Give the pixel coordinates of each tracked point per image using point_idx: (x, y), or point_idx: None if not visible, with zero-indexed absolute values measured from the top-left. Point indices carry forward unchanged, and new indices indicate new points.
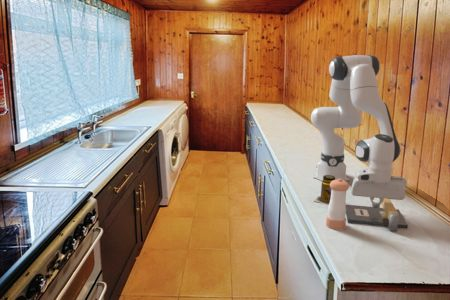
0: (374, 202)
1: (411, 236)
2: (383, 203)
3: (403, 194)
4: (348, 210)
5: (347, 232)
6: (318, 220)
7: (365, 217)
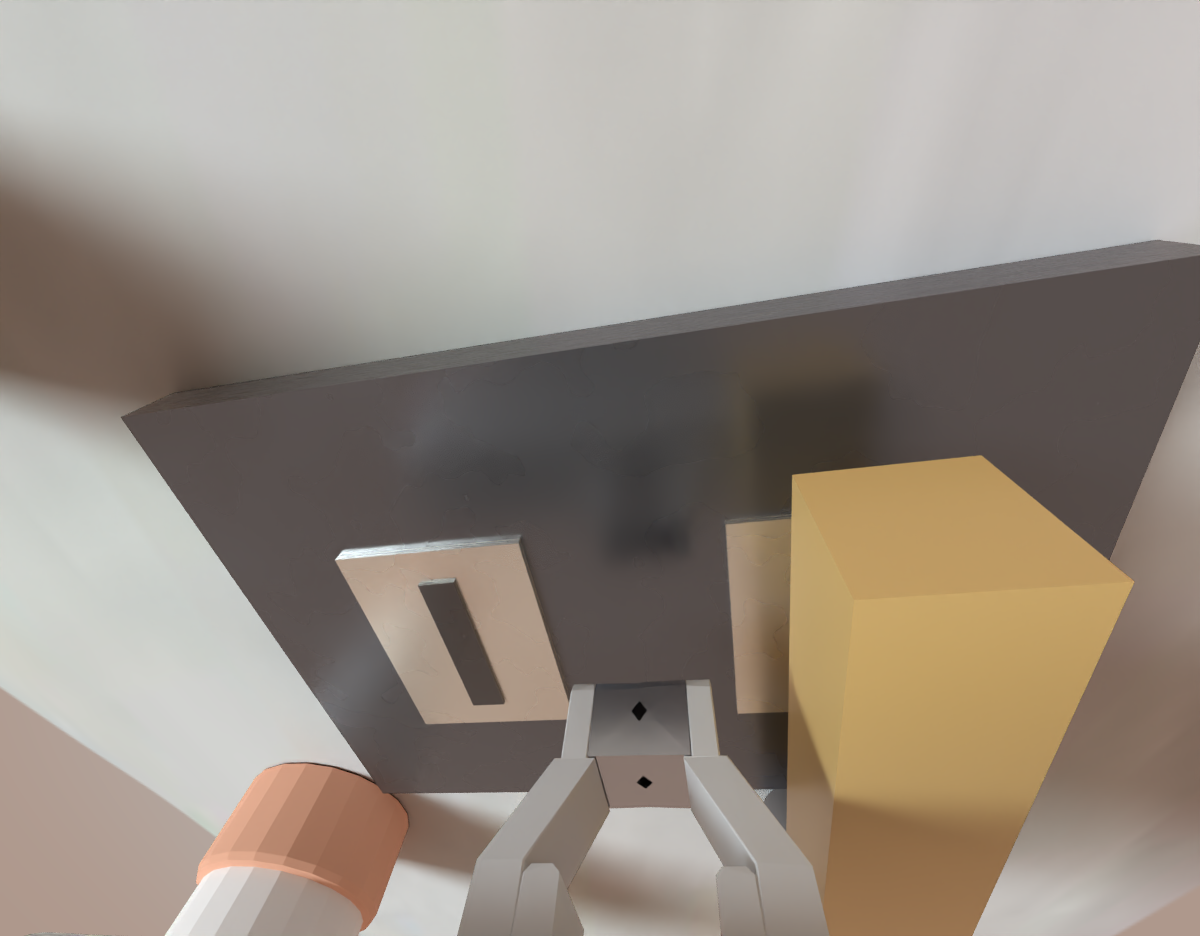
0: (613, 760)
1: None
2: (819, 701)
3: None
4: (292, 621)
5: (447, 858)
6: (175, 768)
7: (534, 733)
